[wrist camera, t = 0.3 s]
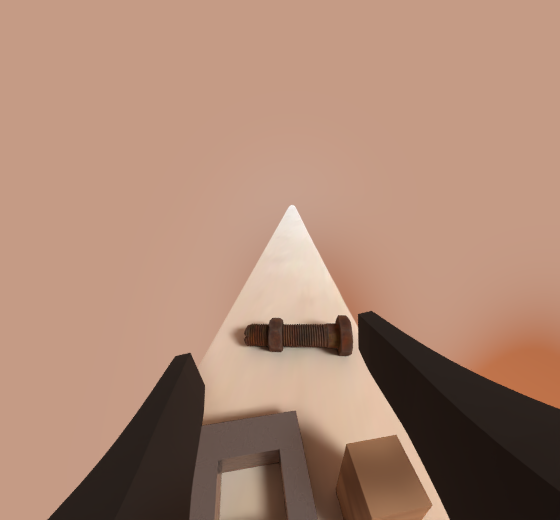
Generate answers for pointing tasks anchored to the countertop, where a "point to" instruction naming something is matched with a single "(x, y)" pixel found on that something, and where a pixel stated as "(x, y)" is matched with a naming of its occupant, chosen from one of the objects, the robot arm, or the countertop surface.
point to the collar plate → (252, 462)
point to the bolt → (302, 335)
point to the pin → (380, 483)
